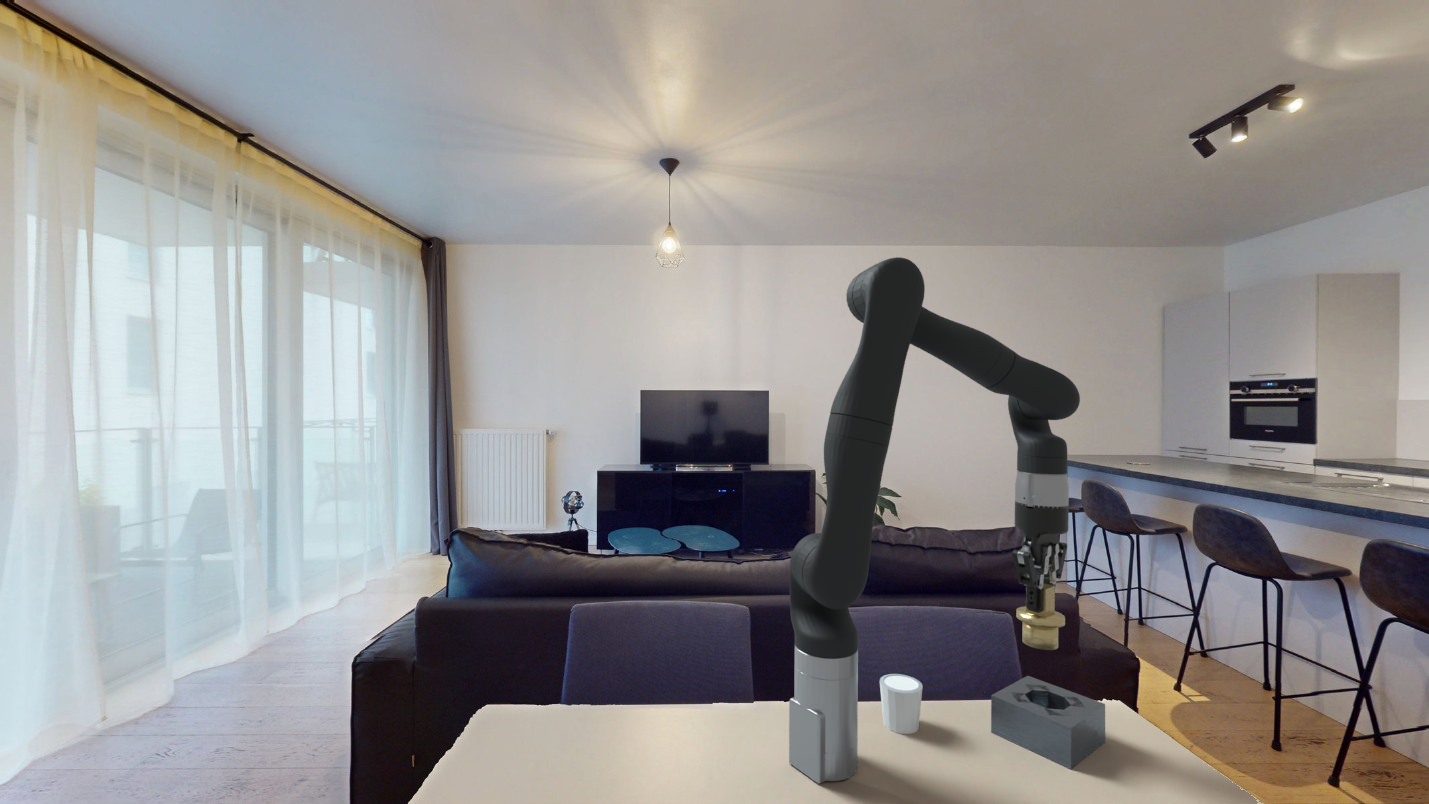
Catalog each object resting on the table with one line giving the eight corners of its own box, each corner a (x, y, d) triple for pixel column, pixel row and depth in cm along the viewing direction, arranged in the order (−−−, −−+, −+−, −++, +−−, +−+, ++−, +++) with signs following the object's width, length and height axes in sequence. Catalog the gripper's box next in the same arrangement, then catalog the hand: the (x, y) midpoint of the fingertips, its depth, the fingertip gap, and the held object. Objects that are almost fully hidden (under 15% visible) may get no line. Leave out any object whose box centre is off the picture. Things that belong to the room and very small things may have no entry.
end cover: (1052, 656, 89) (1053, 594, 89) (1007, 641, 94) (1008, 583, 95) (1072, 646, 93) (1073, 586, 93) (1028, 632, 98) (1029, 576, 99)
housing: (1071, 769, 86) (1071, 728, 86) (991, 732, 95) (991, 695, 95) (1105, 742, 93) (1105, 704, 93) (1027, 710, 102) (1027, 675, 103)
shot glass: (927, 721, 99) (927, 679, 99) (916, 740, 93) (917, 696, 93) (886, 709, 102) (886, 669, 102) (873, 727, 97) (874, 685, 97)
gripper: (1038, 494, 101) (1036, 595, 101) (995, 500, 93) (993, 610, 93) (1086, 500, 95) (1084, 607, 95) (1044, 508, 87) (1043, 625, 87)
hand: (1039, 608), depth 94 cm, fingers closed on end cover, 3 cm apart
